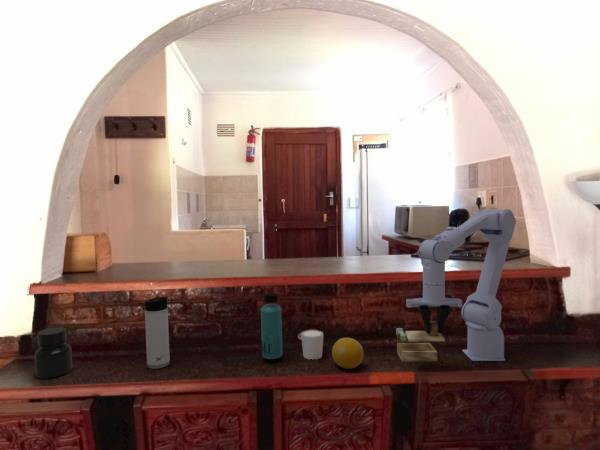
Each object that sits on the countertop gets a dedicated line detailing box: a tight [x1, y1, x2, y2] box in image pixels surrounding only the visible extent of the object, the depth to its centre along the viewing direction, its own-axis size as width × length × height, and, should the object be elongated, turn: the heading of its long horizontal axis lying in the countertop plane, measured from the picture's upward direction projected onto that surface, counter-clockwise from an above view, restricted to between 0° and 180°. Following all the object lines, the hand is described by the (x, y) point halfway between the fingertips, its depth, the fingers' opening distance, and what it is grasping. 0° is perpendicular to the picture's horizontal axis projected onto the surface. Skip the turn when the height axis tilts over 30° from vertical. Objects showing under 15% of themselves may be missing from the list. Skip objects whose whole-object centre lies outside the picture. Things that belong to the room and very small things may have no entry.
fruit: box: [331, 337, 365, 370], centre depth 112 cm, size 9×8×8 cm
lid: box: [404, 320, 446, 342], centre depth 110 cm, size 9×6×4 cm
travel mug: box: [144, 296, 171, 370], centre depth 116 cm, size 6×7×20 cm
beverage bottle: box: [260, 292, 284, 360], centre depth 118 cm, size 6×7×20 cm
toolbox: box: [396, 333, 438, 363], centre depth 119 cm, size 10×8×6 cm
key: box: [395, 327, 406, 342], centre depth 125 cm, size 2×6×2 cm, turn 178°
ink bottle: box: [34, 326, 73, 379], centre depth 112 cm, size 10×9×12 cm
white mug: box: [300, 329, 325, 361], centre depth 121 cm, size 7×7×7 cm
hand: (433, 332), depth 109 cm, fingers closed on lid, 3 cm apart
